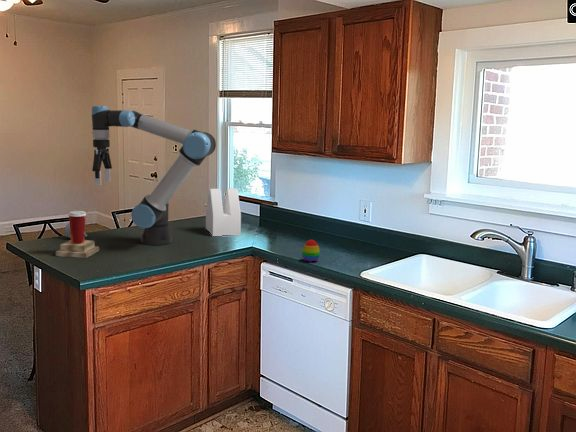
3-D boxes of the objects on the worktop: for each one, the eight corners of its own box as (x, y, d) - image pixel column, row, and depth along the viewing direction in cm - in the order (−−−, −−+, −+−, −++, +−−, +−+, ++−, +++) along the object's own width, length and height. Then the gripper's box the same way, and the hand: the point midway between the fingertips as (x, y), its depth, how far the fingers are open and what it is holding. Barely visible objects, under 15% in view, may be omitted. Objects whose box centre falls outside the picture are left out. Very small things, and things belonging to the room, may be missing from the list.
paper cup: (90, 242, 257) (90, 211, 255) (77, 245, 250) (77, 214, 248) (77, 239, 260) (77, 210, 258) (64, 242, 254) (64, 212, 251)
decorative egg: (321, 263, 257) (322, 241, 255) (304, 263, 255) (305, 241, 253) (316, 258, 265) (317, 237, 263) (299, 258, 263) (300, 237, 261)
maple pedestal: (99, 250, 262) (98, 240, 261) (86, 257, 249) (86, 246, 248) (70, 248, 263) (69, 238, 262) (55, 256, 249) (55, 245, 249)
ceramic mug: (76, 241, 280) (76, 225, 278) (63, 239, 283) (63, 224, 282) (91, 237, 289) (91, 223, 288) (79, 235, 292) (79, 221, 291)
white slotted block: (240, 236, 308) (241, 191, 304) (212, 237, 303) (213, 191, 298) (231, 229, 326) (232, 186, 322) (205, 229, 321) (206, 186, 316)
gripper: (101, 138, 277) (103, 180, 281) (83, 139, 253) (85, 186, 256) (117, 138, 277) (118, 180, 281) (100, 140, 253) (102, 186, 256)
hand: (103, 183), depth 269 cm, fingers open, 13 cm apart
